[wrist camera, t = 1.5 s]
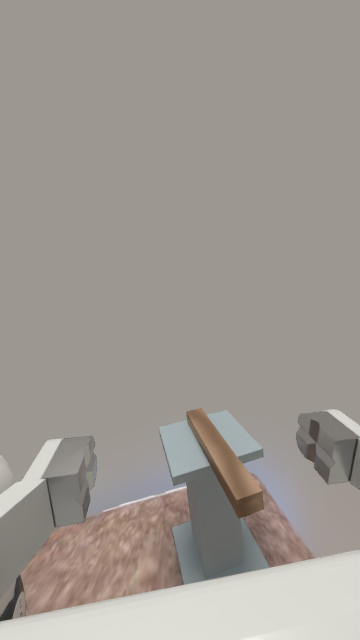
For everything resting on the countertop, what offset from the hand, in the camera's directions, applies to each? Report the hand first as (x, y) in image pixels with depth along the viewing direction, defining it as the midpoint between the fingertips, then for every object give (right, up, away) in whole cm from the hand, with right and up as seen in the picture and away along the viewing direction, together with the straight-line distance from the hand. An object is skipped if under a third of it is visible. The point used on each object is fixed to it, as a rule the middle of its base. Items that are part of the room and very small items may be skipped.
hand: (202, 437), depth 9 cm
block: (+5, -18, +29) cm, 35 cm away
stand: (+7, -44, +37) cm, 57 cm away
